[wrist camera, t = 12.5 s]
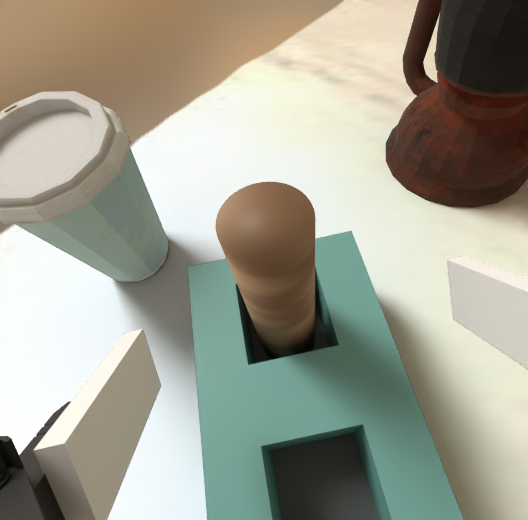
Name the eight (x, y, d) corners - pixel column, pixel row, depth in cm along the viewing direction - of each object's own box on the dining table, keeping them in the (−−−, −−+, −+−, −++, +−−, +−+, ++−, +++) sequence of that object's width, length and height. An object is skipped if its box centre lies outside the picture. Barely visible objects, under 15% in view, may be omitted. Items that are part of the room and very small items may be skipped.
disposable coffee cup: (209, 256, 34) (146, 127, 21) (114, 330, 31) (-25, 233, 18) (152, 198, 39) (73, 64, 26) (65, 258, 36) (-71, 141, 23)
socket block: (246, 610, 21) (219, 667, 15) (211, 305, 31) (187, 267, 25) (445, 568, 21) (498, 608, 15) (344, 276, 31) (351, 230, 25)
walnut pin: (267, 370, 26) (221, 272, 13) (258, 320, 28) (210, 193, 15) (320, 358, 26) (327, 249, 13) (307, 309, 28) (302, 173, 15)
